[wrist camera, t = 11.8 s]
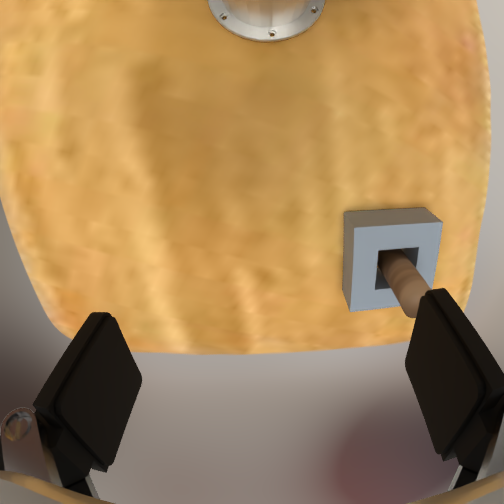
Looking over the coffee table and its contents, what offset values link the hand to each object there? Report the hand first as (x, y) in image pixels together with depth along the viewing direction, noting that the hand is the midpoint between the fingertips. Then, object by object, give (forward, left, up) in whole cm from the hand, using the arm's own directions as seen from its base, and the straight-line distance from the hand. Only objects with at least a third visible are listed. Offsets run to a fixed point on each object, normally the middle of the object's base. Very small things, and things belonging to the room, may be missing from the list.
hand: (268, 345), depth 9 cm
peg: (+12, +14, -28) cm, 34 cm away
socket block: (+12, +14, -28) cm, 34 cm away
